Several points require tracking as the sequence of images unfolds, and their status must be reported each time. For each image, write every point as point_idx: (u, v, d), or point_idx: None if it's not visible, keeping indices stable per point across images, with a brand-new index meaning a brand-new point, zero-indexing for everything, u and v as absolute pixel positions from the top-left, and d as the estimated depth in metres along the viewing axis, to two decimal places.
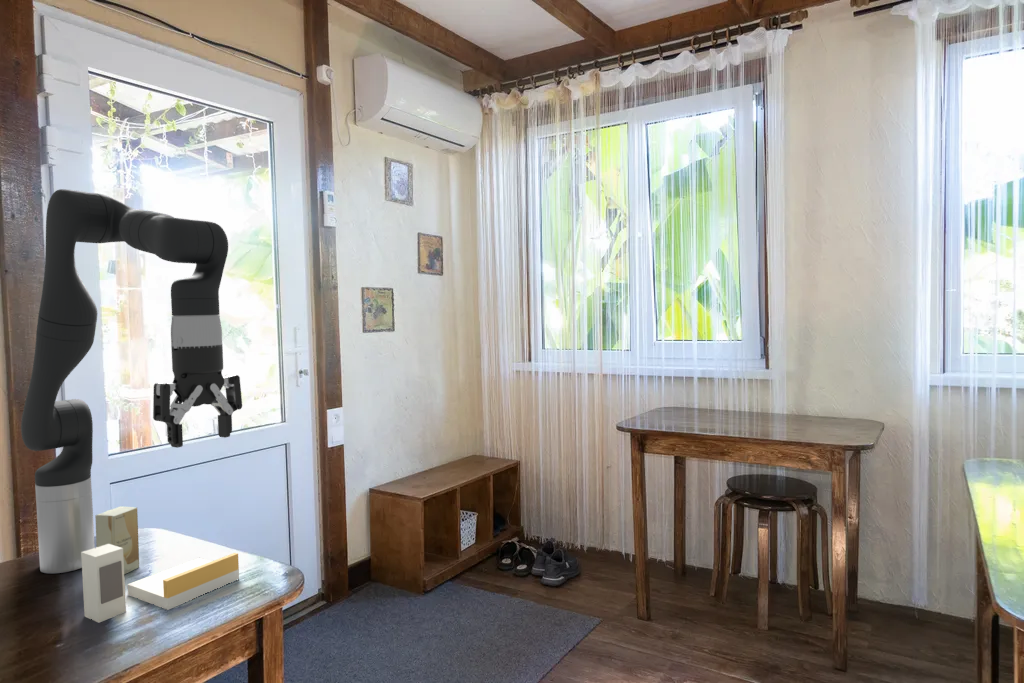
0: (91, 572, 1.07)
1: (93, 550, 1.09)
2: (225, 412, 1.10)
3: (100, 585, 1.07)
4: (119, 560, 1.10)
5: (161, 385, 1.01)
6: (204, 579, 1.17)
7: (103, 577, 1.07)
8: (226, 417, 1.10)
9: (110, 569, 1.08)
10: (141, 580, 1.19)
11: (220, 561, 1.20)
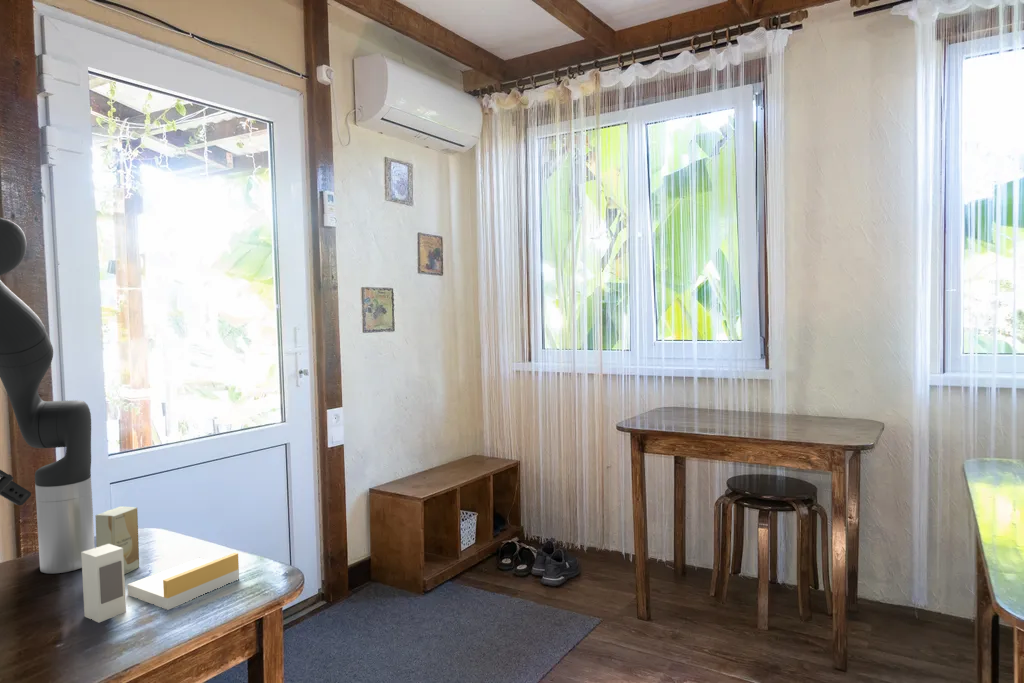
0: (91, 572, 1.07)
1: (93, 550, 1.09)
2: None
3: (100, 585, 1.07)
4: (119, 560, 1.10)
5: None
6: (204, 579, 1.17)
7: (103, 577, 1.07)
8: None
9: (110, 569, 1.08)
10: (141, 580, 1.19)
11: (220, 561, 1.20)
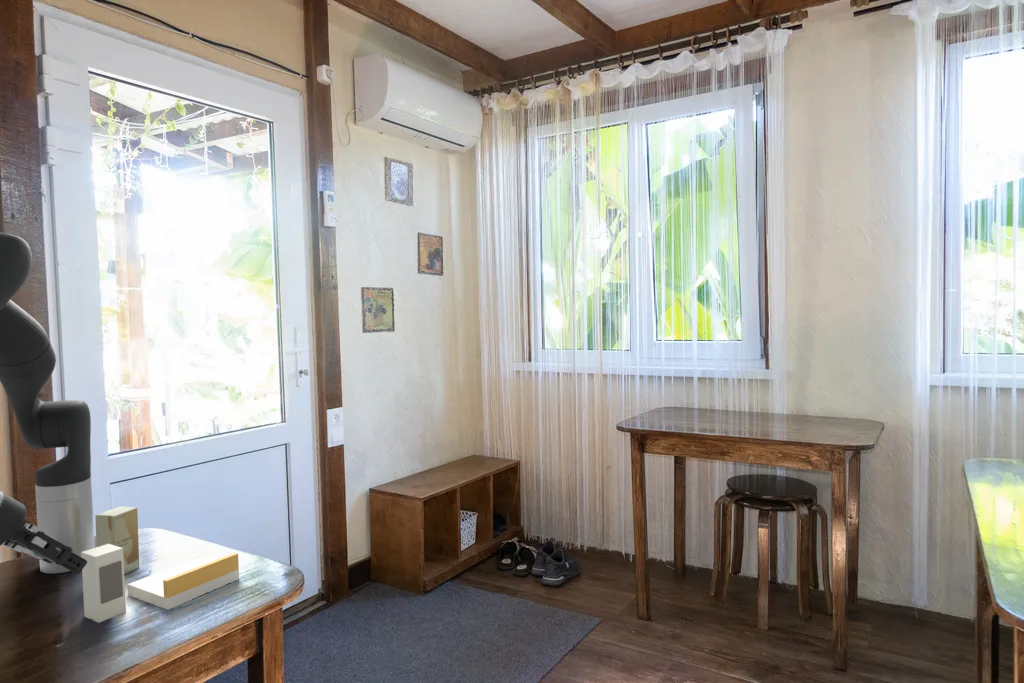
0: (91, 572, 1.07)
1: (93, 550, 1.09)
2: None
3: (100, 585, 1.07)
4: (119, 560, 1.10)
5: None
6: (204, 579, 1.17)
7: (103, 577, 1.07)
8: (58, 563, 1.00)
9: (110, 569, 1.08)
10: (141, 580, 1.19)
11: (220, 561, 1.20)
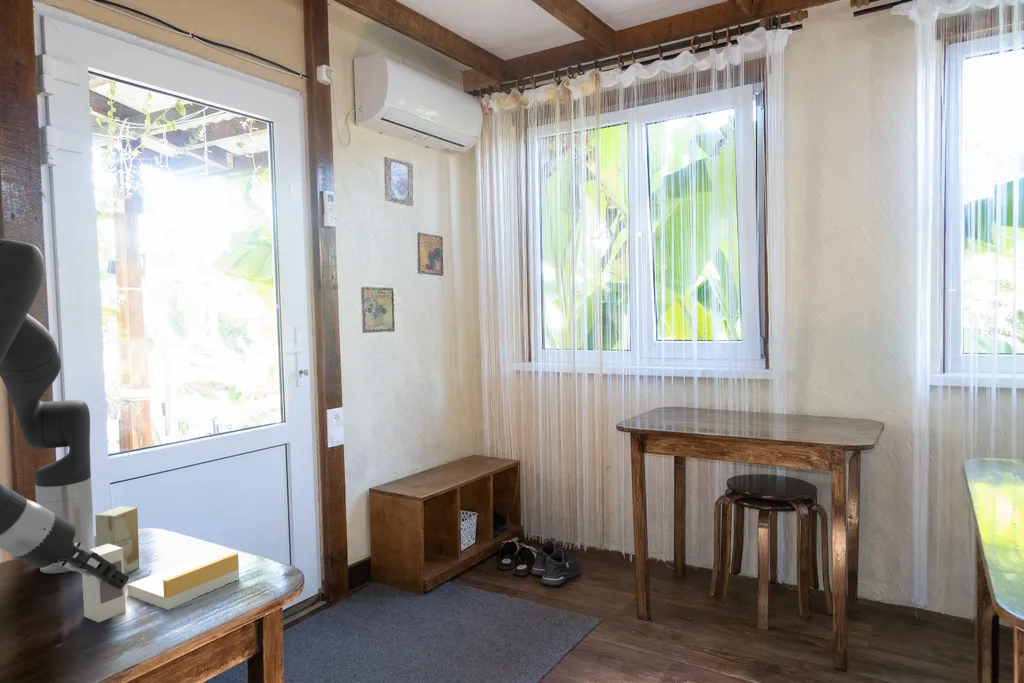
0: None
1: (93, 550, 1.09)
2: None
3: (100, 585, 1.07)
4: (119, 560, 1.10)
5: None
6: (204, 579, 1.17)
7: None
8: None
9: None
10: (141, 580, 1.19)
11: (220, 561, 1.20)
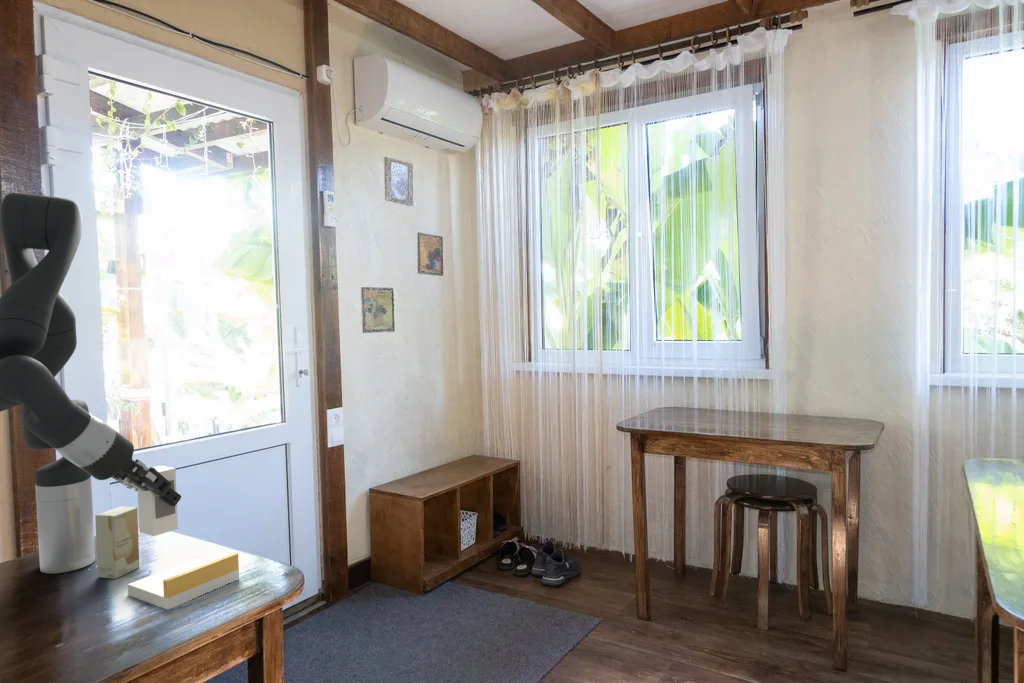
0: None
1: None
2: (155, 493, 1.13)
3: (155, 501, 1.14)
4: (172, 479, 1.16)
5: None
6: (204, 579, 1.17)
7: None
8: (158, 496, 1.14)
9: None
10: (141, 580, 1.19)
11: (220, 561, 1.20)
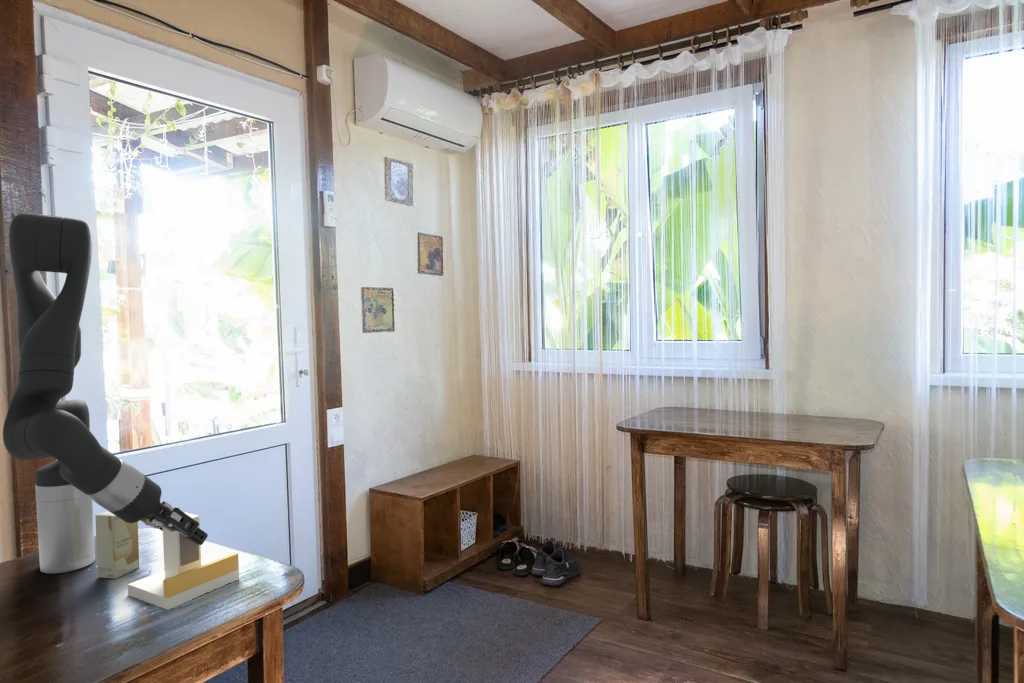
0: (171, 537, 1.18)
1: None
2: (183, 533, 1.16)
3: (180, 549, 1.17)
4: None
5: None
6: (204, 579, 1.17)
7: (183, 541, 1.18)
8: (186, 536, 1.16)
9: None
10: (141, 580, 1.19)
11: (220, 561, 1.20)
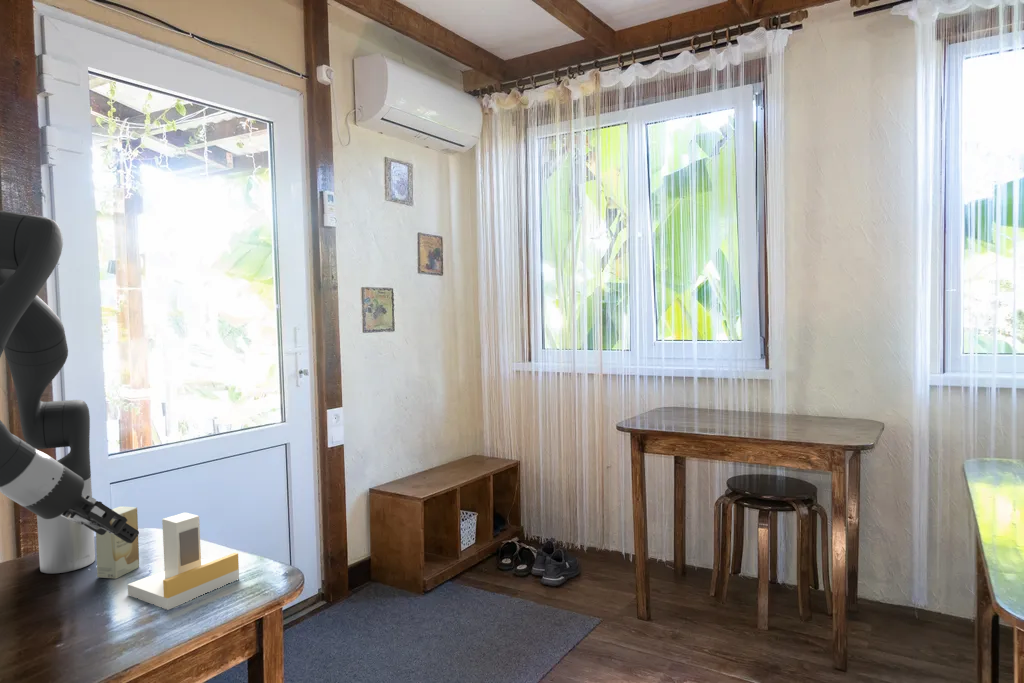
0: (171, 537, 1.18)
1: (172, 517, 1.20)
2: None
3: (180, 549, 1.17)
4: (196, 527, 1.20)
5: None
6: (204, 579, 1.17)
7: (183, 541, 1.18)
8: (113, 533, 1.05)
9: (188, 534, 1.18)
10: (141, 580, 1.19)
11: (220, 561, 1.20)
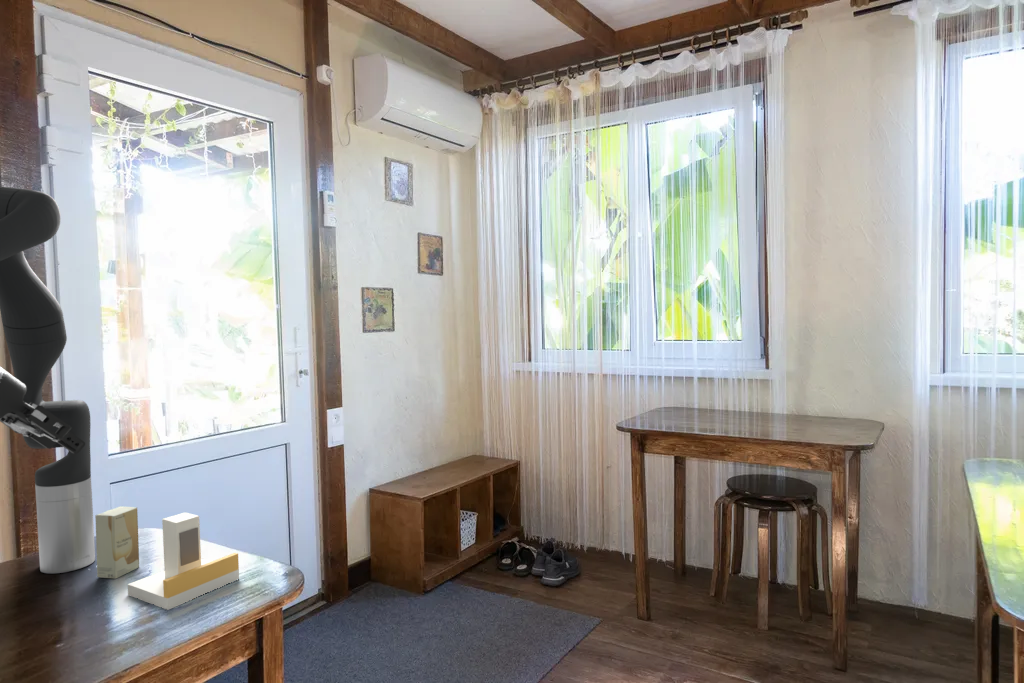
0: (171, 537, 1.18)
1: (172, 517, 1.20)
2: None
3: (180, 549, 1.17)
4: (196, 527, 1.20)
5: None
6: (204, 579, 1.17)
7: (183, 541, 1.18)
8: (57, 442, 1.03)
9: (188, 534, 1.18)
10: (141, 580, 1.19)
11: (220, 561, 1.20)
